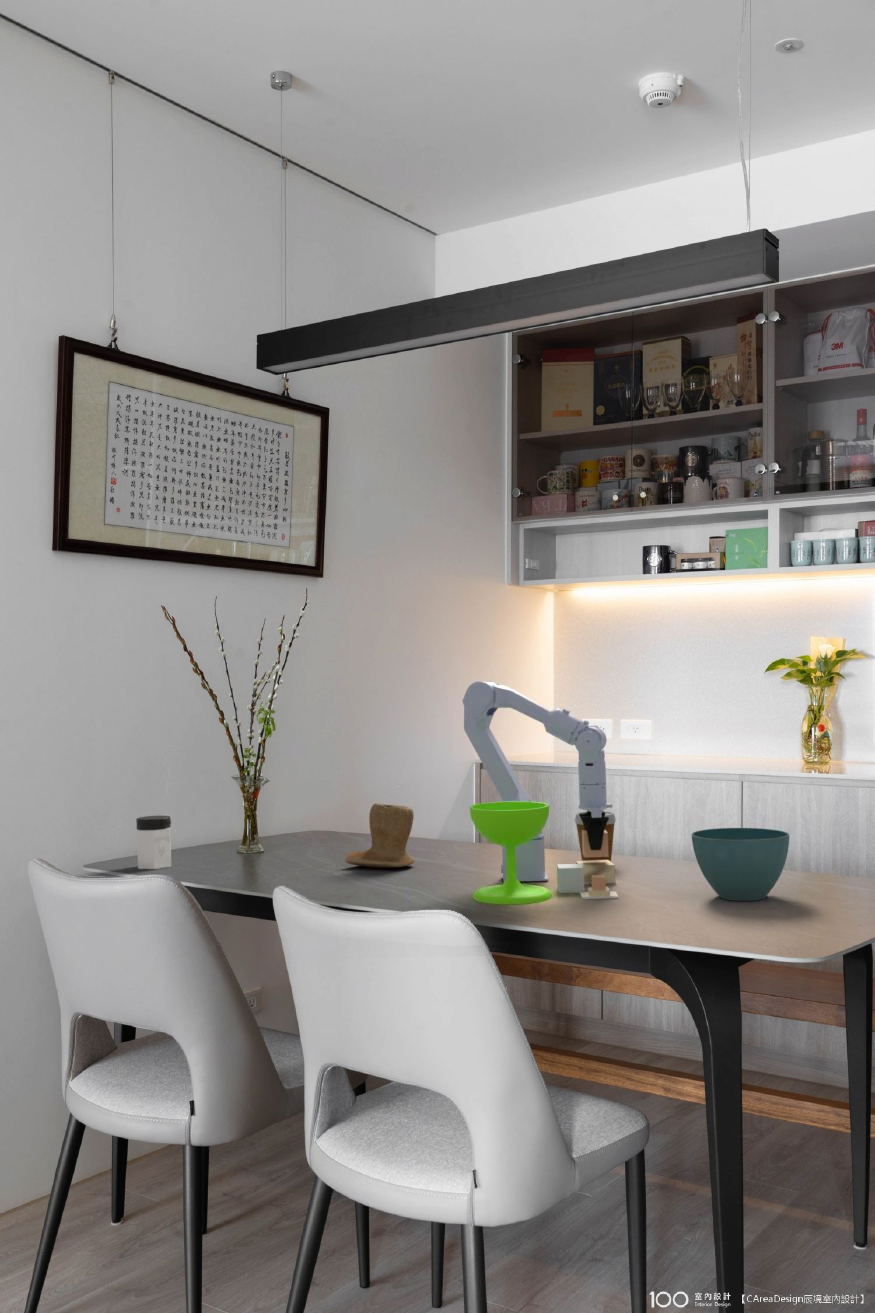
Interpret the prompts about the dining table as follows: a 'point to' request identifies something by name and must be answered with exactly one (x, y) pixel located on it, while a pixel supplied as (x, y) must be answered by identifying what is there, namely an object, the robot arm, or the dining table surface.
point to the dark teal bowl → (741, 860)
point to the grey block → (570, 878)
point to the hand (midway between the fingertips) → (594, 848)
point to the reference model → (598, 889)
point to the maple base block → (598, 870)
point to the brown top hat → (386, 838)
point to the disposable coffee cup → (608, 828)
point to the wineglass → (510, 846)
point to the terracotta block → (594, 853)
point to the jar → (153, 842)
